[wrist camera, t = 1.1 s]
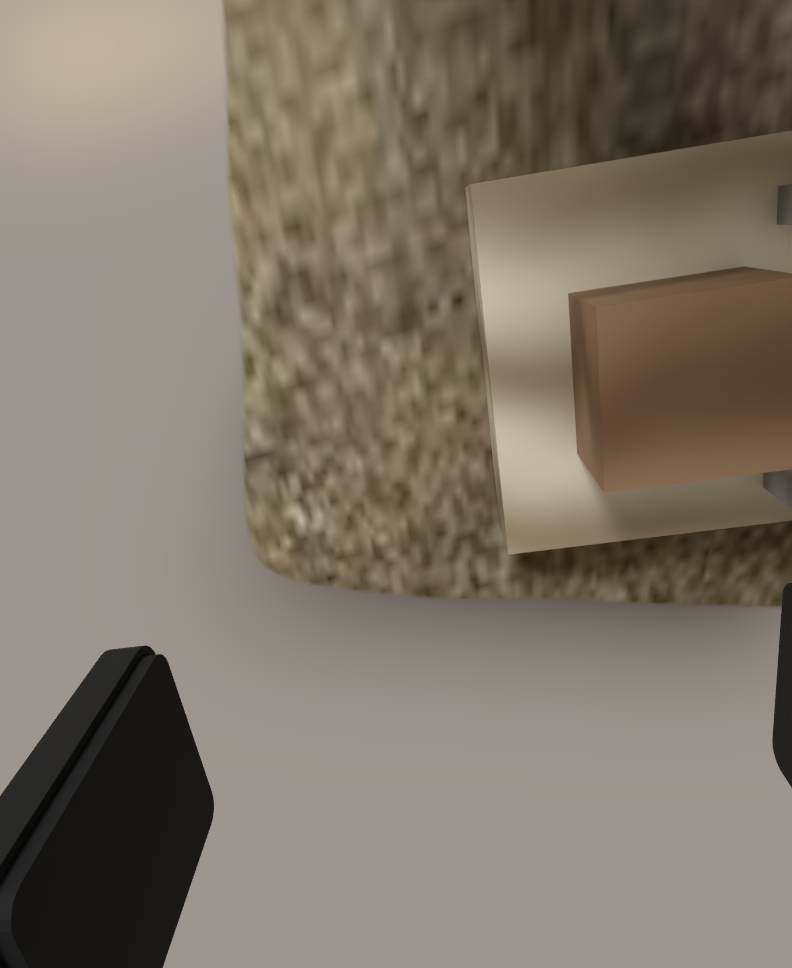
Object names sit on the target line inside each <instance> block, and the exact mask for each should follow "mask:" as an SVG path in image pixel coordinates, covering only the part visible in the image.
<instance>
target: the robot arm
mask: <svg viewBox="0 0 792 968" xmlns="http://www.w3.org/2000/svg"><path fill="white" fill-rule="evenodd" d="M773 750H774V754H775V758H776V761H777V764H778V766H779V768H780V770H781V772H782V773H783V775H784V776H785V778H786V779H787V781H788V782H789V784H790V786H791V787H792V583H789V584H787V585H786V586H785V588H784V591H783V598H782V613H781V627H780V641H779V656H778V670H777V685H776V698H775V713H774V727H773ZM213 812H214V801H213V795H212V791H211V788H210V785H209V782H208V779H207V776H206V773H205V771H204V767H203V764H202V761H201V758H200V756H199V753H198V750H197V747H196V744H195V741H194V738H193V735H192V732H191V729H190V726H189V723H188V720H187V717H186V714H185V711H184V708H183V705H182V702H181V699H180V697H179V694H178V690H177V688H176V685H175V682H174V679H173V676H172V673H171V670H170V667H169V664H168V662H167V659H166V658H165V657H164V656H163V655H161V654H158V655H156V654H155V652H154V651H153V650H152V649H151V648H150V647H148V646H138V647H129V648H122V649H112V650H108V651H105V652H104V653H103V654H102V655H101V656H100V658H99V659H98V661H97V662H96V663H95V665H94V666H93V668H92V669H91V670H90V672H89V673H88V674H87V676H86V677H85V679H84V680H83V682H82V683H81V684H80V686H79V687H78V688H77V690H76V691H75V693H74V694H73V695H72V697H71V698H70V700H69V701H68V702H67V704H66V705H65V707H64V708H63V709H62V711H61V712H60V713H59V715H58V716H57V718H56V719H55V721H54V722H53V723H52V725H51V726H50V727H49V729H48V730H47V732H46V733H45V734H44V736H43V737H42V739H41V740H40V741H39V743H38V744H37V746H36V747H35V748H34V750H33V751H32V752H31V754H30V755H29V757H28V758H27V759H26V761H25V762H24V764H23V765H22V766H21V768H20V769H19V771H18V772H17V773H16V775H15V776H14V778H13V779H12V780H11V782H10V783H9V785H8V786H7V787H6V789H5V790H4V792H3V793H2V794H1V796H0V968H163V965H164V962H165V959H166V956H167V953H168V950H169V947H170V944H171V941H172V938H173V935H174V932H175V929H176V926H177V924H178V921H179V918H180V915H181V912H182V908H183V906H184V903H185V899H186V897H187V894H188V891H189V888H190V885H191V882H192V879H193V876H194V873H195V870H196V867H197V864H198V862H199V859H200V856H201V853H202V850H203V847H204V844H205V841H206V838H207V835H208V832H209V829H210V826H211V823H212V819H213Z"/></svg>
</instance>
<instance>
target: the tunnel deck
mask: <svg viewBox="0 0 792 968" xmlns="http://www.w3.org/2000/svg"><path fill="white" fill-rule="evenodd" d="M465 197H466V207H467V216H468V226H469V235H470V245H471V254H472V264H473V273H474V283H475V292H476V302H477V311H478V321H479V330H480V340H481V349H482V359H483V368H484V378H485V387H486V397H487V406H488V416H489V425H490V435H491V444H492V454H493V463H494V473H495V482H496V492H497V501H498V511H499V520H500V526H501V530H502V533H503V537H504V541H505V545H506V548H507V552H508V555H509V554H517V553H525V552H534V551H542V550H550V549H559V548H567V547H575V546H584V545H592V544H600V543H609V542H617V541H625V540H634V539H642V538H651V537H659V536H667V535H676V534H684V533H692V532H701V531H709V530H717V529H726V528H734V527H742V526H751V525H759V524H767V523H776V522H784V521H792V469H790V470H782V471H774V472H766V473H759V474H751V475H743V476H735V477H727V478H719V479H711V480H703V481H695V482H687V483H679V484H671V485H663V486H655V487H647V488H639V489H632V490H624V491H616V492H608V493H604V492H603V491H602V489H601V488H600V486H599V485H598V483H597V482H596V480H595V479H594V477H593V476H592V474H591V473H590V471H589V470H588V469H587V467H586V466H585V464H584V463H583V461H582V460H581V458H580V457H579V455H578V454H577V442H576V424H575V407H574V389H573V371H572V354H571V336H570V318H569V301H568V293H572V292H579V291H585V290H592V289H599V288H605V287H612V286H618V285H625V284H632V283H638V282H645V281H651V280H658V279H665V278H671V277H678V276H684V275H691V274H698V273H704V272H711V271H717V270H724V269H731V268H737V267H744V266H745V267H752V268H759V269H765V270H772V271H779V272H786V273H792V130H791V131H785V132H779V133H773V134H767V135H761V136H755V137H749V138H743V139H737V140H731V141H725V142H719V143H713V144H707V145H701V146H695V147H689V148H683V149H677V150H671V151H665V152H659V153H653V154H647V155H641V156H636V157H630V158H624V159H618V160H612V161H606V162H600V163H594V164H588V165H582V166H576V167H570V168H564V169H558V170H552V171H546V172H540V173H534V174H528V175H522V176H516V177H510V178H504V179H498V180H492V181H486V182H480V183H474V184H470V185H468V186H467V187H465Z"/></svg>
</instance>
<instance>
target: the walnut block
mask: <svg viewBox="0 0 792 968" xmlns="http://www.w3.org/2000/svg"><path fill="white" fill-rule="evenodd" d="M568 301H569V318H570V336H571V354H572V371H573V389H574V407H575V424H576V442H577V454H578V455H579V457H580V458H581V460H582V461H583V463H584V464H585V466H586V467H587V469H588V470H589V471H590V473H591V474H592V476H593V477H594V479H595V480H596V482H597V483H598V485H599V486H600V488H601V489H602V491H603V492H604V493H608V492H616V491H624V490H632V489H639V488H647V487H655V486H663V485H671V484H679V483H687V482H695V481H703V480H711V479H719V478H727V477H735V476H743V475H751V474H759V473H766V472H774V471H782V470H790V469H792V273H786V272H779V271H772V270H765V269H759V268H752V267H745V266H744V267H737V268H731V269H724V270H717V271H711V272H704V273H698V274H691V275H684V276H678V277H671V278H665V279H658V280H651V281H645V282H638V283H632V284H625V285H618V286H612V287H605V288H599V289H592V290H585V291H579V292H572V293H568Z"/></svg>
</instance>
